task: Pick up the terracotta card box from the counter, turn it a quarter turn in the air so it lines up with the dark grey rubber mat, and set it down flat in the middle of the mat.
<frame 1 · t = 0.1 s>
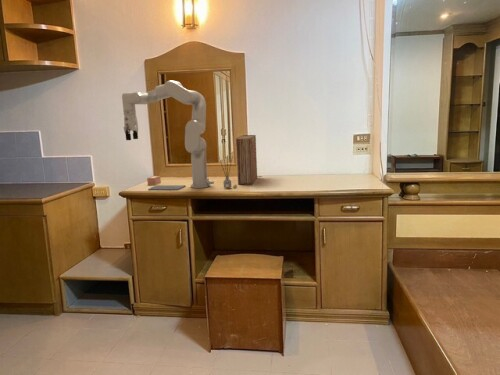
hand: (132, 139, 254), 31 cm above the table, tool pointing down, fingers open, 9 cm apart
card box: (154, 184, 266), on the table
reed diffuser: (228, 188, 242), on the table
mat: (167, 188, 248), on the table
brown wooden block: (248, 181, 262), on the table
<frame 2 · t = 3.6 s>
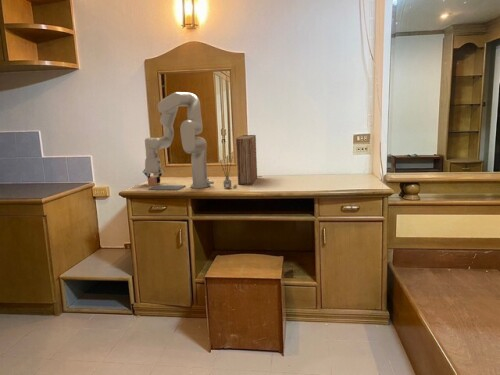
hand: (154, 182, 265), 1 cm above the table, tool pointing down, fingers closed on card box, 5 cm apart
card box: (154, 184, 266), on the table, touching gripper
everything else where it was.
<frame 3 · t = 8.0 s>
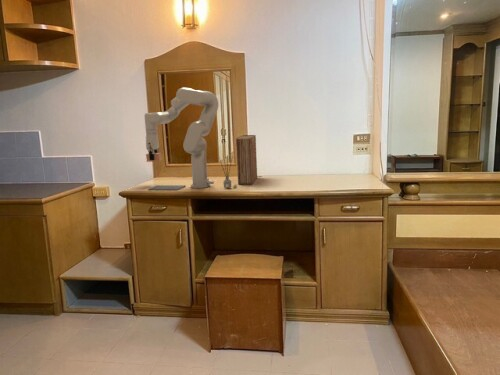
hand: (154, 159, 259), 17 cm above the table, tool pointing down, fingers closed on card box, 5 cm apart
card box: (154, 161, 259), point 16 cm above the table, touching gripper
everything else where it was.
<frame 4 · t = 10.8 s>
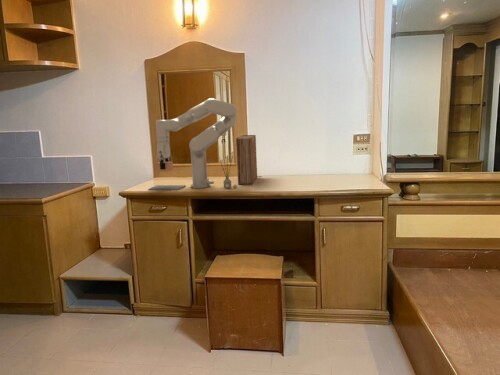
hand: (165, 168, 246), 13 cm above the table, tool pointing down, fingers closed on card box, 5 cm apart
card box: (165, 170, 246), point 12 cm above the table, touching gripper
everything else where it was.
when the fingers open (3 cm above the table, at t = 12.9 s): card box drops 1 cm, resting on mat.
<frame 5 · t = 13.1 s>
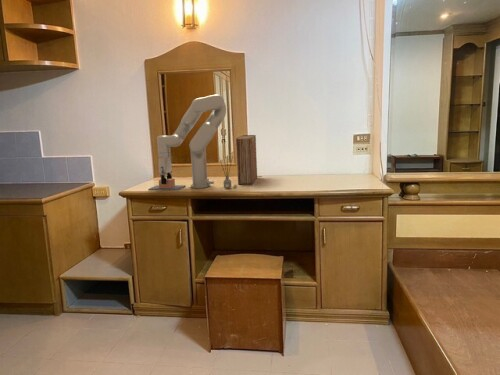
hand: (166, 182, 247), 4 cm above the table, tool pointing down, fingers open, 7 cm apart
card box: (167, 187, 248), point 1 cm above the table, touching mat
everything else where it was.
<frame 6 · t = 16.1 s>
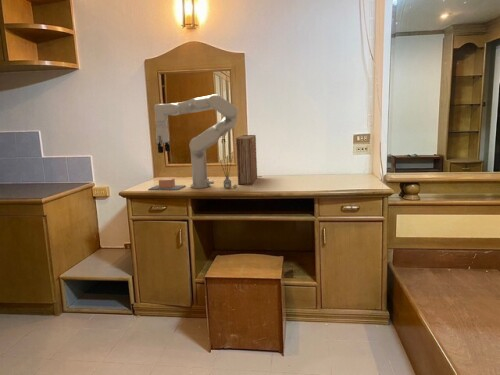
hand: (164, 152, 244), 23 cm above the table, tool pointing down, fingers open, 9 cm apart
nothing on the table moved.
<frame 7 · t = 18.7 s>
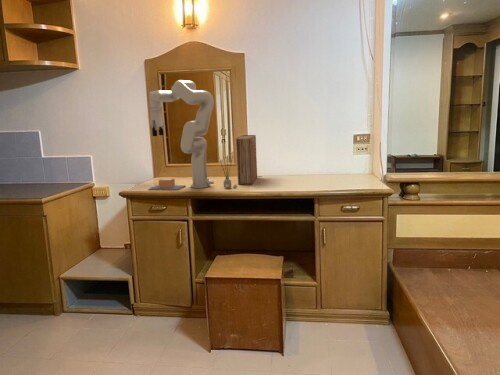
hand: (158, 135, 267), 32 cm above the table, tool pointing down, fingers open, 9 cm apart
nothing on the table moved.
at the end: card box inside the target area on the mat (0.0 cm from its centre), point 0.8 cm above the mat's base; card box tilted 0°; the gripper is holding nothing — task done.
